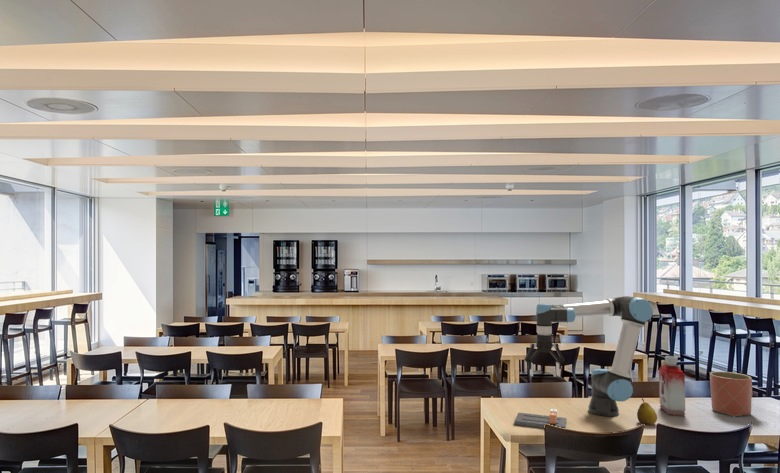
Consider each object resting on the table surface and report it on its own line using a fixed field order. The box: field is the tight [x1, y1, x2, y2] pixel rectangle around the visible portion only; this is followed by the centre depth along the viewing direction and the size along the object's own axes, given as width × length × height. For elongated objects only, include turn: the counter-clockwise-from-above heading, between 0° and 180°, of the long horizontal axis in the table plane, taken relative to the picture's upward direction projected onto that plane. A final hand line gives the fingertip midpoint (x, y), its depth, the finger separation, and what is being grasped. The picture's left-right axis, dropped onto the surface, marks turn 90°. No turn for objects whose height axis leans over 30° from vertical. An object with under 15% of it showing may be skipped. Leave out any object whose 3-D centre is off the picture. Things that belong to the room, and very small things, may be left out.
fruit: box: [636, 397, 658, 426], centre depth 255 cm, size 9×9×12 cm
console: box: [514, 412, 568, 429], centre depth 254 cm, size 24×15×2 cm, turn 69°
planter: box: [709, 371, 753, 417], centre depth 275 cm, size 19×19×20 cm
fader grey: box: [549, 408, 558, 420], centre depth 255 cm, size 3×4×4 cm
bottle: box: [658, 355, 686, 417], centre depth 275 cm, size 14×10×30 cm
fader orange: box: [548, 412, 556, 424], centre depth 248 cm, size 3×4×4 cm
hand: (544, 375), depth 259 cm, fingers open, 13 cm apart
